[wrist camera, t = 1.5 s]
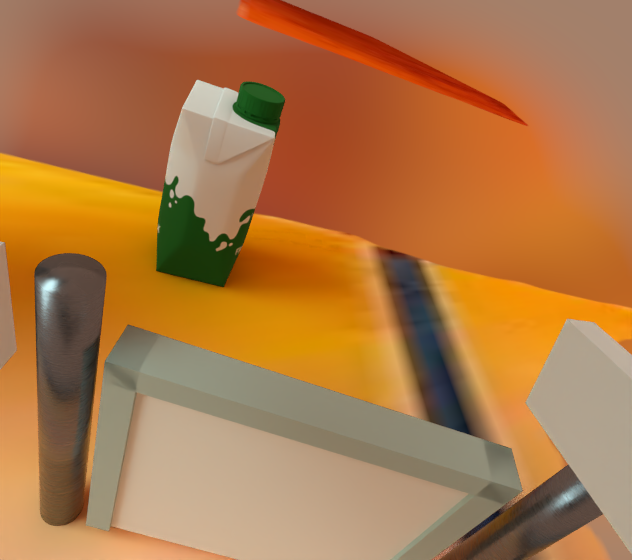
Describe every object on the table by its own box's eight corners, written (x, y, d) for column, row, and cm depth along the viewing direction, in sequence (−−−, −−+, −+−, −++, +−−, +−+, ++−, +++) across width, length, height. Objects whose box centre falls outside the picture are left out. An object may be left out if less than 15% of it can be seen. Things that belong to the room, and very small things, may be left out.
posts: (31, 519, 28) (20, 282, 16) (53, 482, 30) (57, 245, 18) (435, 624, 32) (664, 492, 20) (431, 585, 34) (638, 443, 22)
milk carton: (230, 295, 49) (288, 119, 37) (143, 274, 47) (175, 80, 35) (238, 247, 56) (289, 85, 44) (162, 226, 54) (194, 50, 42)
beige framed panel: (85, 525, 28) (104, 361, 19) (102, 490, 30) (128, 324, 20) (376, 601, 31) (522, 491, 21) (375, 565, 32) (511, 448, 23)
